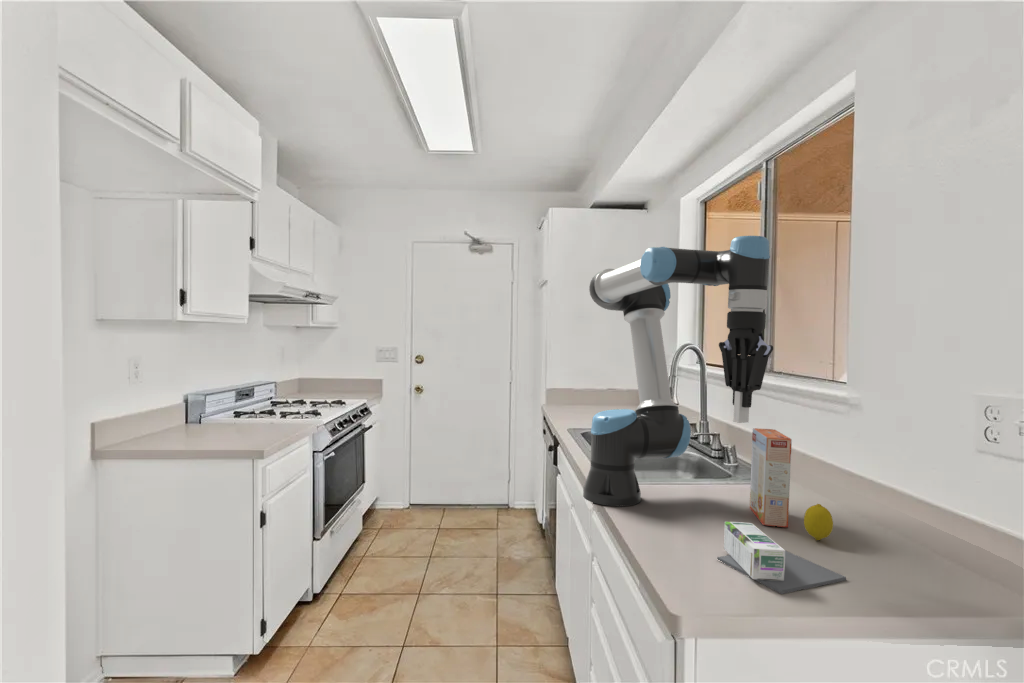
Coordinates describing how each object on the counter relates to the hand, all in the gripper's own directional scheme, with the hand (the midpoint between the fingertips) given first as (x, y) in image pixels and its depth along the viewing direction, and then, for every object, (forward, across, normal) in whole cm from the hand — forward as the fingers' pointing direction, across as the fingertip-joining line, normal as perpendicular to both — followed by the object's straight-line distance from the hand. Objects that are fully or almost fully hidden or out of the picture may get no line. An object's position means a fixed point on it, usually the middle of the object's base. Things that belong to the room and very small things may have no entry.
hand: (740, 421), depth 117 cm
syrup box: (+22, +5, -4) cm, 23 cm away
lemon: (+26, +6, +18) cm, 32 cm away
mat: (+25, +14, -3) cm, 29 cm away
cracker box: (+26, -10, +20) cm, 34 cm away
